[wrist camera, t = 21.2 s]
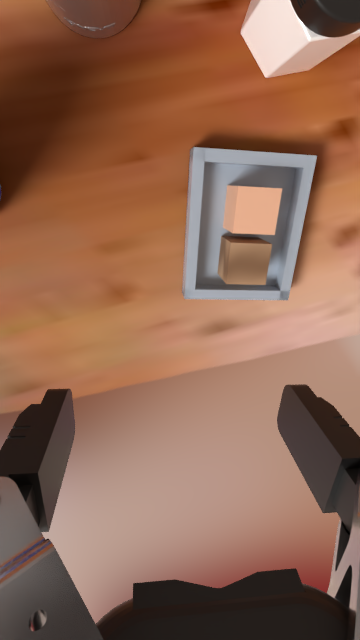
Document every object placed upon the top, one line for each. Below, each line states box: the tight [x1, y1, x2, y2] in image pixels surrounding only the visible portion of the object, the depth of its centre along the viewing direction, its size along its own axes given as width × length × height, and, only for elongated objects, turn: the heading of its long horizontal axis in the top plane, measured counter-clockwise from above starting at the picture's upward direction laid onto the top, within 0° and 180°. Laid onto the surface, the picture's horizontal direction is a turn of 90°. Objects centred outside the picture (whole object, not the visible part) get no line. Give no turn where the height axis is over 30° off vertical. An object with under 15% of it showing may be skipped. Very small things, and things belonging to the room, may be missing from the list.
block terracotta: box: [223, 185, 282, 235], centre depth 34 cm, size 4×4×4 cm
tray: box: [182, 147, 317, 300], centre depth 36 cm, size 16×13×2 cm
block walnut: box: [218, 236, 272, 285], centre depth 36 cm, size 4×4×4 cm
